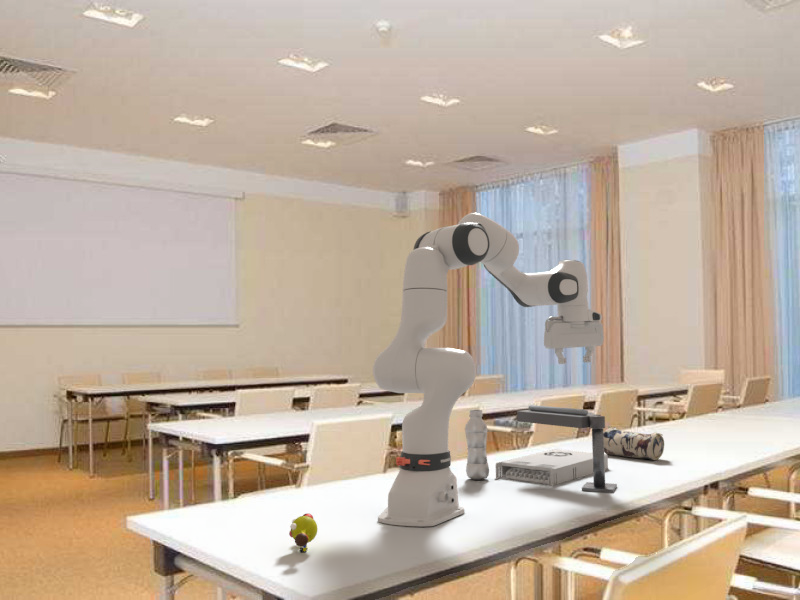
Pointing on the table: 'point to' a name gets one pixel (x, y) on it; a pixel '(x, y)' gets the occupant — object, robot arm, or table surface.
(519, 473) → the power supply unit
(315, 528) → the toy figure
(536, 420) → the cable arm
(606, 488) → the post
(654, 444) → the pencil case
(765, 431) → the table surface
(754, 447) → the table surface
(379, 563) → the table surface
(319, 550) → the table surface
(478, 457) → the plastic bottle
